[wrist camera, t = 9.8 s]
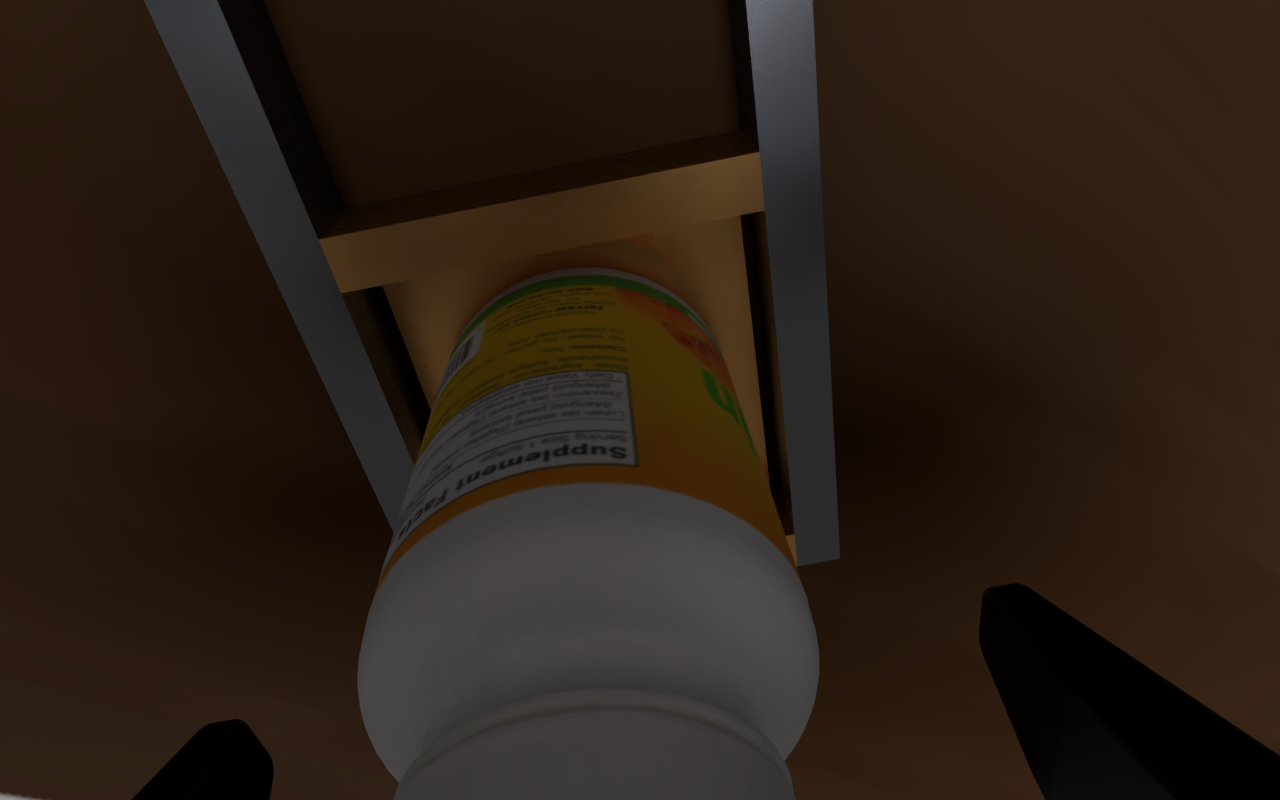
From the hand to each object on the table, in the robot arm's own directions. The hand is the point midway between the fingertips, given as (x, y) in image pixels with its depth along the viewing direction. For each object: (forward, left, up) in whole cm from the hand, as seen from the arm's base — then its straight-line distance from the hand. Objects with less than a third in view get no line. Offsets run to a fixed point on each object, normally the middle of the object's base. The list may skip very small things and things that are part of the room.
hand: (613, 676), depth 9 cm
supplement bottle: (0, 0, -7) cm, 7 cm away
